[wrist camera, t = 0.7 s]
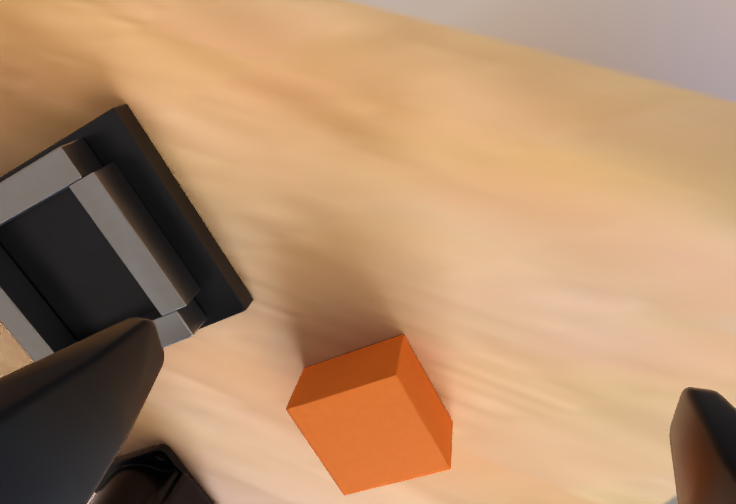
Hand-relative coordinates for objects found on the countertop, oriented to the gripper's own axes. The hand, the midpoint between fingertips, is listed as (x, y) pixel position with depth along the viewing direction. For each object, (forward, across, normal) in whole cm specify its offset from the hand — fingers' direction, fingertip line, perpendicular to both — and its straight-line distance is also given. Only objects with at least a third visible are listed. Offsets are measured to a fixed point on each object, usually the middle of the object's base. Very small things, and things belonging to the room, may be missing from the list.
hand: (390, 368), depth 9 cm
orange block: (+12, +4, +13) cm, 18 cm away
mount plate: (+12, +17, +6) cm, 22 cm away
